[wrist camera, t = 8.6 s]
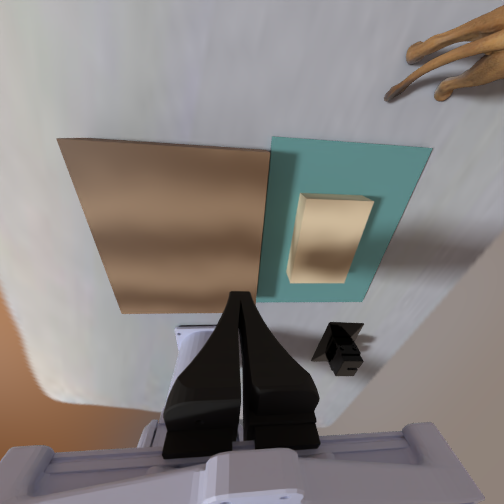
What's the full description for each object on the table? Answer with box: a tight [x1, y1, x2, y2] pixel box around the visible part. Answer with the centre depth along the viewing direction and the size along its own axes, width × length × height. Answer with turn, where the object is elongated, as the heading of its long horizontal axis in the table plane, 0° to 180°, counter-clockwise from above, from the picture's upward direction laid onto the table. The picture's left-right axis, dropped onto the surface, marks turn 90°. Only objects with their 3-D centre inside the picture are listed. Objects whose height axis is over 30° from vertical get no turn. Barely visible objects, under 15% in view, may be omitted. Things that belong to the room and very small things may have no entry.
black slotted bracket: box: [311, 322, 364, 376], centre depth 30 cm, size 12×7×5 cm, turn 173°
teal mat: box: [256, 137, 433, 302], centre depth 21 cm, size 18×14×1 cm
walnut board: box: [56, 138, 270, 314], centre depth 19 cm, size 16×14×3 cm
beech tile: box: [286, 193, 374, 283], centre depth 20 cm, size 9×6×2 cm, turn 177°
